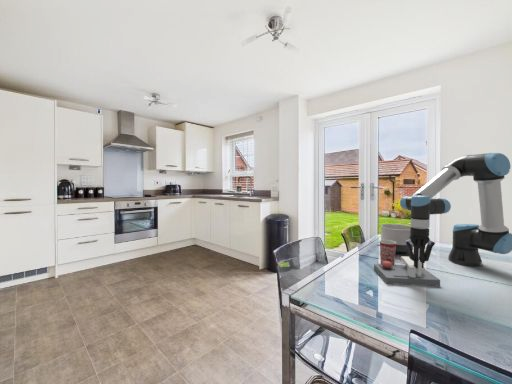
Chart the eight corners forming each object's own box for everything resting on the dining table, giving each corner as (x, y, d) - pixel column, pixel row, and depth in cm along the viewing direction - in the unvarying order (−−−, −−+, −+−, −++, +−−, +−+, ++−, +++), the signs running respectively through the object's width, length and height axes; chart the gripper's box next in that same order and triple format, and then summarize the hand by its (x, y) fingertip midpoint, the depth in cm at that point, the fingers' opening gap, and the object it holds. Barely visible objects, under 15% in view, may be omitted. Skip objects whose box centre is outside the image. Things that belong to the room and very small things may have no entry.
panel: (419, 270, 129) (420, 262, 129) (440, 286, 112) (440, 275, 111) (374, 269, 133) (374, 260, 133) (386, 283, 115) (386, 273, 115)
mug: (392, 267, 134) (393, 244, 134) (376, 263, 141) (376, 241, 141) (400, 262, 143) (401, 240, 142) (385, 258, 149) (385, 237, 149)
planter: (419, 256, 152) (420, 229, 151) (390, 256, 153) (390, 230, 151) (401, 247, 172) (402, 223, 170) (375, 247, 172) (376, 224, 171)
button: (389, 265, 129) (389, 261, 129) (392, 268, 125) (393, 264, 124) (381, 265, 130) (381, 260, 129) (384, 268, 125) (384, 263, 125)
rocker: (412, 259, 129) (412, 256, 129) (423, 271, 118) (424, 268, 118) (400, 258, 130) (400, 255, 130) (411, 270, 119) (411, 267, 119)
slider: (412, 275, 116) (412, 265, 116) (415, 277, 113) (415, 267, 113) (406, 274, 117) (407, 265, 116) (409, 277, 114) (410, 267, 114)
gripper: (429, 225, 116) (428, 271, 117) (401, 225, 118) (400, 270, 119) (439, 229, 108) (437, 278, 110) (409, 228, 110) (407, 276, 112)
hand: (418, 274), depth 114 cm, fingers closed
